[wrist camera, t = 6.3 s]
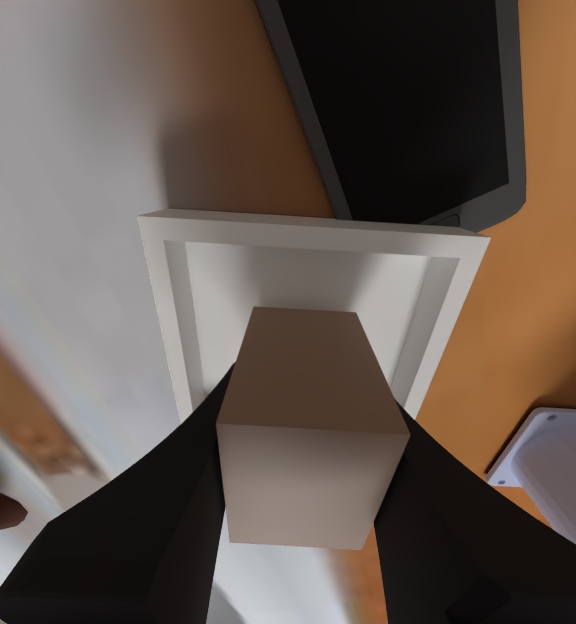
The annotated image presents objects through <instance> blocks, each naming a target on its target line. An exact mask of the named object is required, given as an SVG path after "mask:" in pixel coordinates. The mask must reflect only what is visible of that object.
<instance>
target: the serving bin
mask: <svg viewBox="0 0 576 624" xmlns="http://www.w3.org/2000/svg"><path fill="white" fill-rule="evenodd" d="M137 218H138V223H139V228H140V233H141V237H142V242H143V247H144V252H145V256H146V261H147V266H148V271H149V275H150V280H151V285H152V290H153V295H154V299H155V304H156V309H157V314H158V318H159V323H160V328H161V333H162V337H163V342H164V347H165V352H166V356H167V361H168V366H169V371H170V376H171V380H172V385H173V390H174V395H175V399H176V404H177V409H178V414H179V418H180V423H181V424H182V423H183V422H184V421H185V420H186V419H187V418H188V417H189V416H190V415H191V413H192V412H193V411H194V410H195V409H196V408H197V407H198V406H199V405H200V404H201V403H202V402H203V401H204V400H205V398H206V397H207V396H208V395H209V394H210V393H211V391H212V390H213V389H214V388H215V387H216V385H217V384H218V383H219V382H220V380H221V379H222V378H223V377H224V375H225V374H226V373H227V371H228V370H229V368H230V367H231V366H232V364H233V363H235V362H236V359H237V356H238V353H239V350H240V347H241V344H242V341H243V338H244V335H245V332H246V328H247V325H248V322H249V319H250V316H251V313H252V310H253V307H254V306H256V307H273V308H290V309H307V310H324V311H340V312H356V313H357V315H358V318H359V320H360V322H361V324H362V327H363V329H364V331H365V333H366V336H367V338H368V340H369V342H370V345H371V347H372V349H373V351H374V354H375V356H376V358H377V360H378V363H379V365H380V367H381V369H382V372H383V374H384V376H385V378H386V381H387V383H388V385H389V387H390V390H391V392H392V394H393V396H394V398H395V399H396V401H397V402H398V403H399V404H400V405H401V406H402V407H403V408H404V409H405V410H406V412H407V413H408V414H409V415H410V416H411V417H412V418H413V419H414V420H415V418H416V416H417V414H418V411H419V409H420V407H421V404H422V402H423V399H424V397H425V395H426V392H427V390H428V387H429V385H430V383H431V380H432V378H433V375H434V373H435V371H436V368H437V366H438V363H439V361H440V359H441V356H442V354H443V351H444V349H445V347H446V344H447V342H448V339H449V337H450V335H451V332H452V330H453V327H454V325H455V323H456V320H457V318H458V315H459V313H460V311H461V308H462V306H463V303H464V301H465V299H466V296H467V294H468V292H469V289H470V287H471V284H472V282H473V280H474V277H475V275H476V272H477V270H478V268H479V265H480V263H481V260H482V258H483V256H484V253H485V251H486V248H487V246H488V244H489V241H490V239H491V237H488V236H485V235H481V234H478V233H475V232H472V231H468V230H465V229H462V228H459V227H448V226H431V225H414V224H398V223H381V222H365V221H349V220H337V219H334V218H317V217H301V216H284V215H268V214H251V213H235V212H219V211H202V210H186V209H169V208H168V209H164V210H160V211H156V212H151V213H147V214H143V215H139V216H137Z"/></svg>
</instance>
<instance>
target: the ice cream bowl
mask: <svg viewBox="0 0 576 624" xmlns="http://www.w3.org/2000/svg"><path fill="white" fill-rule="evenodd" d="M27 513H28V512H27V511H26V510H25V509H24V508H23V507H22V506H21V504H20V503H18V502H16V501H14V500H12V499H10V498H8V497H5V496H3V495H1V494H0V530H1V529H5V528H9V527H14V526H17V525H19V524H20V523H21V522H22V521H23V520H24V519H25V517H26V515H27Z"/></svg>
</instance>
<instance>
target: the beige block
mask: <svg viewBox="0 0 576 624" xmlns="http://www.w3.org/2000/svg"><path fill="white" fill-rule="evenodd" d="M216 429H217V437H218V446H219V454H220V463H221V471H222V480H223V488H224V497H225V505H226V513H227V522H228V530H229V539H230V542H232V543H249V544H267V545H284V546H301V547H319V548H336V549H353V550H362V548H363V546H364V543H365V541H366V538H367V536H368V534H369V531H370V529H371V527H372V524H373V522H374V520H375V517H376V515H377V513H378V510H379V508H380V506H381V503H382V501H383V499H384V496H385V494H386V491H387V489H388V487H389V484H390V482H391V480H392V477H393V475H394V473H395V470H396V468H397V466H398V463H399V461H400V459H401V456H402V454H403V452H404V449H405V447H406V445H407V442H408V440H409V437H410V432H409V430H408V428H407V426H406V423H405V421H404V419H403V417H402V414H401V412H400V410H399V408H398V405H397V403H396V401H395V399H394V396H393V394H392V392H391V390H390V387H389V385H388V383H387V381H386V378H385V376H384V374H383V372H382V369H381V367H380V365H379V363H378V360H377V358H376V356H375V354H374V351H373V349H372V347H371V345H370V342H369V340H368V338H367V336H366V333H365V331H364V329H363V327H362V324H361V322H360V320H359V318H358V315H357V313H356V312H340V311H324V310H307V309H290V308H273V307H256V306H254V307H253V310H252V313H251V316H250V319H249V322H248V325H247V328H246V332H245V335H244V338H243V341H242V344H241V347H240V350H239V353H238V356H237V359H236V363H235V366H234V369H233V372H232V375H231V378H230V381H229V384H228V387H227V391H226V394H225V397H224V400H223V403H222V406H221V409H220V412H219V415H218V418H217V422H216Z"/></svg>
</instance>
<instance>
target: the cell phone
mask: <svg viewBox="0 0 576 624" xmlns="http://www.w3.org/2000/svg"><path fill="white" fill-rule="evenodd" d="M254 1H255V4H256V6H257V9H258V12H259V14H260V17H261V20H262V22H263V25H264V28H265V30H266V33H267V36H268V38H269V41H270V44H271V46H272V49H273V52H274V54H275V57H276V60H277V62H278V65H279V68H280V70H281V73H282V76H283V78H284V81H285V84H286V86H287V89H288V92H289V94H290V97H291V100H292V102H293V105H294V108H295V110H296V113H297V116H298V118H299V121H300V124H301V126H302V129H303V132H304V134H305V137H306V140H307V142H308V145H309V148H310V150H311V153H312V156H313V158H314V161H315V164H316V166H317V169H318V171H319V174H320V177H321V179H322V182H323V185H324V187H325V190H326V193H327V195H328V198H329V201H330V203H331V206H332V209H333V211H334V214H335V217H336V219H337V220H349V221H365V222H381V223H398V224H414V225H431V226H448V227H459V228H462V229H465V230H468V231H472V232H475V233H477V232H479V231H482V230H484V229H486V228H489V227H491V226H494V225H496V224H498V223H500V222H502V221H504V220H506V219H508V218H509V217H511V216H513V215H514V214H516V213H517V212H518V211H519V210H520V209H521V208H522V206H523V205H524V203H525V202H526V162H525V142H524V121H523V100H522V80H521V59H520V39H519V18H518V0H254Z"/></svg>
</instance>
